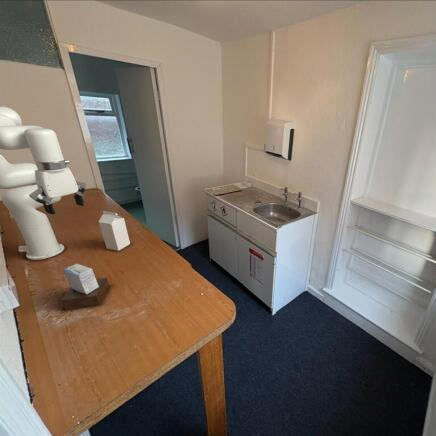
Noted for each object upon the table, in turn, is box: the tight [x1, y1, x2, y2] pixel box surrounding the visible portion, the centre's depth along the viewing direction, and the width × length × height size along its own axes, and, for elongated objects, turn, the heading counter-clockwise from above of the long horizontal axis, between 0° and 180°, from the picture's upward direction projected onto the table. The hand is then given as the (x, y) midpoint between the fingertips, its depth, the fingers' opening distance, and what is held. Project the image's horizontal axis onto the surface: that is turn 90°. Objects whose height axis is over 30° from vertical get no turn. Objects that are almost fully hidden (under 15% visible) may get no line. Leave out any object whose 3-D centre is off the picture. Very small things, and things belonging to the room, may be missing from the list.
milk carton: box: [98, 210, 131, 252], centre depth 114 cm, size 7×7×19 cm
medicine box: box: [63, 263, 99, 294], centre depth 83 cm, size 8×4×9 cm, turn 71°
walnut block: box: [60, 277, 110, 311], centre depth 86 cm, size 10×10×4 cm
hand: (66, 209), depth 90 cm, fingers open, 9 cm apart
